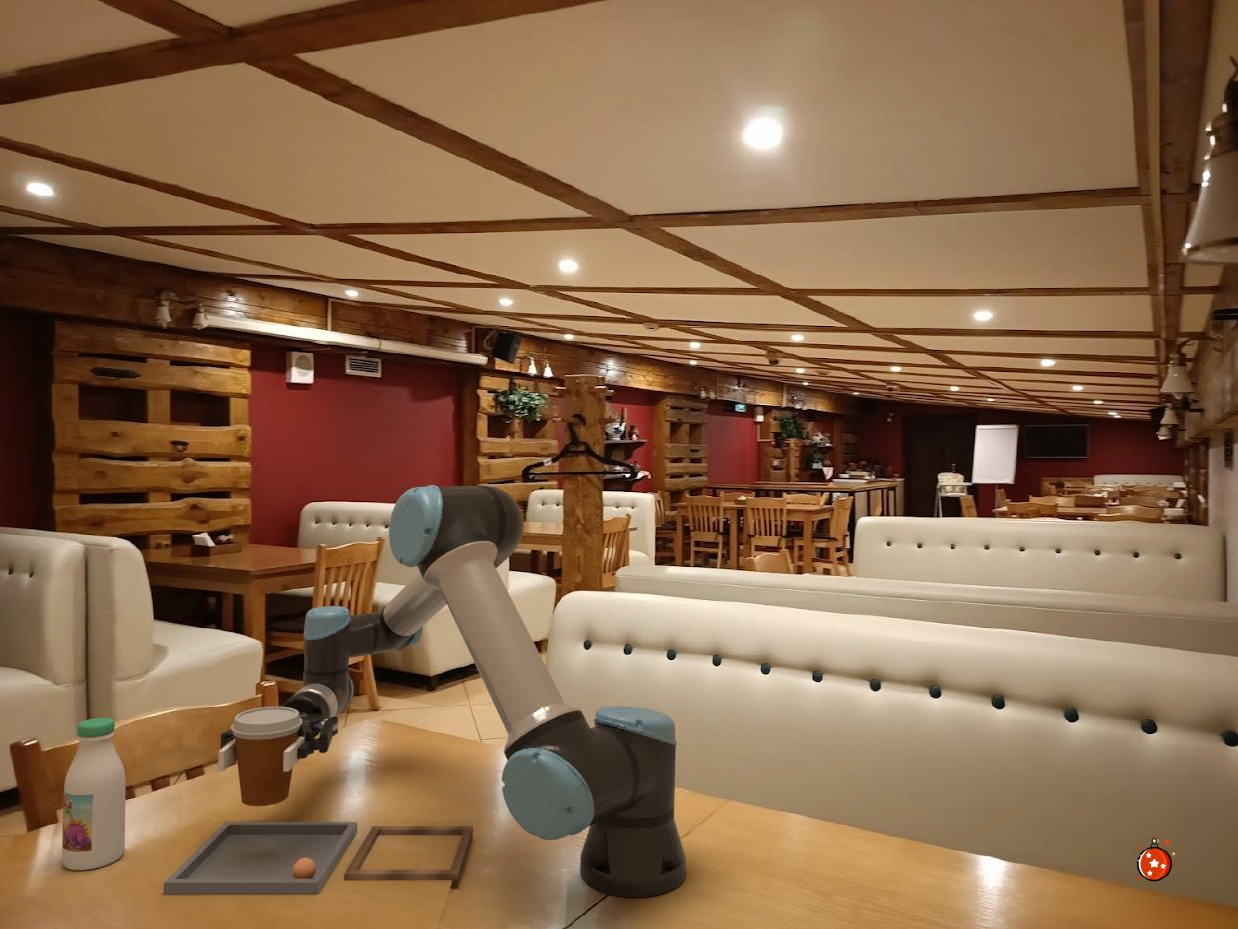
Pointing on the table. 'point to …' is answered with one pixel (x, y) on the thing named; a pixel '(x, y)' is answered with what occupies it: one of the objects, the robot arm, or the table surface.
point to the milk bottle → (94, 800)
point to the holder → (451, 874)
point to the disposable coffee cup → (264, 753)
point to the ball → (304, 869)
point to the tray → (262, 858)
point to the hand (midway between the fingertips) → (253, 761)
